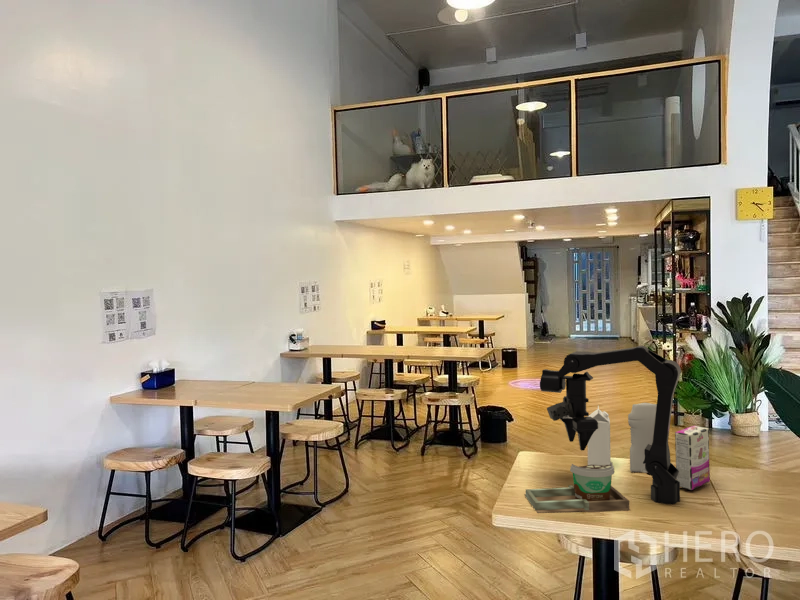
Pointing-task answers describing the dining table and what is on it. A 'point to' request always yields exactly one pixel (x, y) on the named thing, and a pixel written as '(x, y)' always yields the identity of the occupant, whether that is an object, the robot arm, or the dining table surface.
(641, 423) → the light grey flat bottle
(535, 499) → the green flat tray
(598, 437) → the milk carton
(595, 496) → the food container
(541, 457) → the dining table surface
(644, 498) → the dining table surface
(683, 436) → the candy bar box
